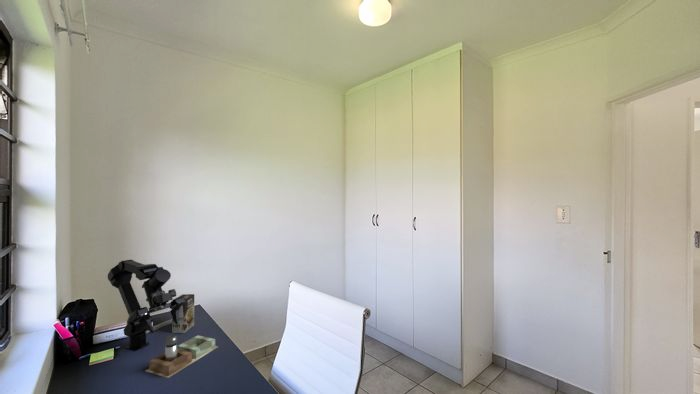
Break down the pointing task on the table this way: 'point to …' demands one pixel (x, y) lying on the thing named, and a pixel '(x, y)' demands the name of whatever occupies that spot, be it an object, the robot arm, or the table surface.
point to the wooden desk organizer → (182, 356)
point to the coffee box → (185, 315)
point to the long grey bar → (160, 325)
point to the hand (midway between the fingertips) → (165, 328)
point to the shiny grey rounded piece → (170, 348)
